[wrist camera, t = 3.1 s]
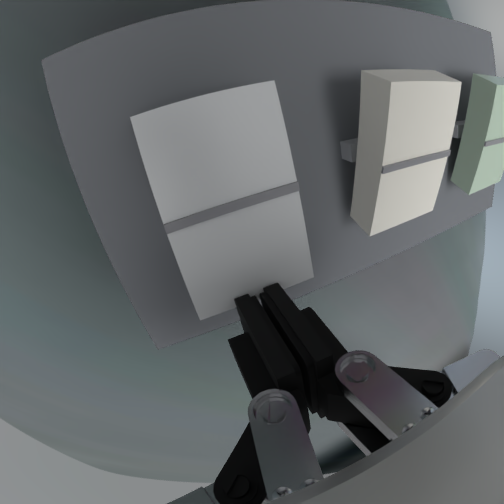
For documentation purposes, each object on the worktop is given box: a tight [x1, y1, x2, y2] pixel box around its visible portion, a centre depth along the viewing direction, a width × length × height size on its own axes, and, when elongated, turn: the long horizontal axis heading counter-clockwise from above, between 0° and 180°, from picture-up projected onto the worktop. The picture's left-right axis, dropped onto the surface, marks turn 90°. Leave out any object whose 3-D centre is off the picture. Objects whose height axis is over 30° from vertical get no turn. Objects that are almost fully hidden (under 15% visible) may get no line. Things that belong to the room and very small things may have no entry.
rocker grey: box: [130, 80, 314, 320], centre depth 10 cm, size 7×4×2 cm, turn 13°
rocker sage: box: [451, 73, 504, 195], centre depth 13 cm, size 7×4×2 cm, turn 13°
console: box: [41, 0, 496, 349], centre depth 16 cm, size 14×26×7 cm, turn 103°
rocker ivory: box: [350, 69, 462, 236], centre depth 12 cm, size 7×4×2 cm, turn 13°
